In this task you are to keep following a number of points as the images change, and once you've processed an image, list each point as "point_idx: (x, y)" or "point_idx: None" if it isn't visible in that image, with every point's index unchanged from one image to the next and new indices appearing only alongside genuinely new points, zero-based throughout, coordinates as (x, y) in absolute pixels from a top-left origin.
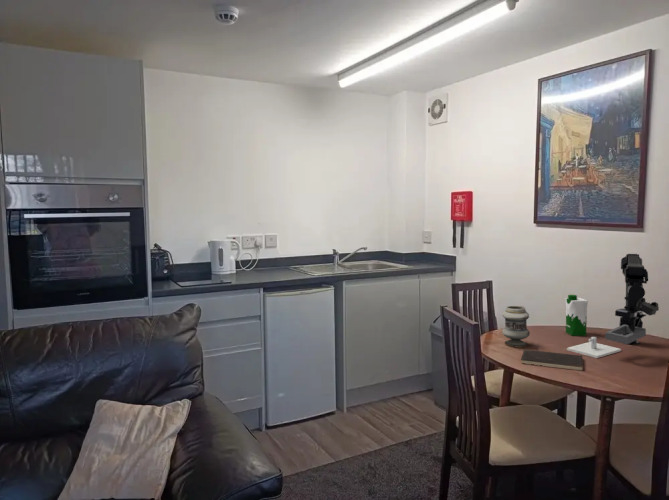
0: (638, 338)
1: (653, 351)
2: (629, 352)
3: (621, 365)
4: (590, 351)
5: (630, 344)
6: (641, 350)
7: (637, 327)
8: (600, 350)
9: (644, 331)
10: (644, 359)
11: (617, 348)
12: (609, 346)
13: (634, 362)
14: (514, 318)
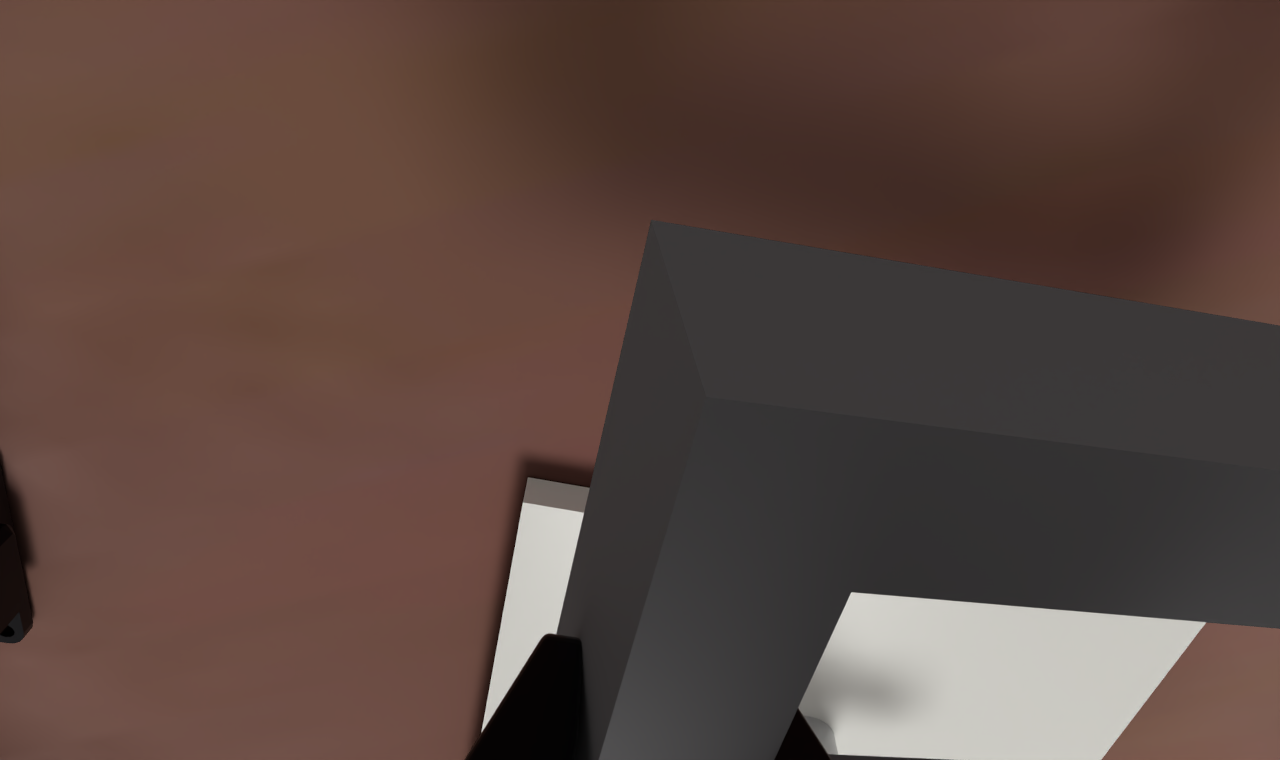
0: (1185, 318)
1: (17, 48)
2: (500, 363)
3: None
4: (1001, 725)
5: (2, 482)
6: (176, 250)
7: (681, 720)
8: (853, 663)
9: (816, 340)
10: (803, 15)
11: (545, 543)
12: (517, 644)
13: (1156, 108)
14: None
